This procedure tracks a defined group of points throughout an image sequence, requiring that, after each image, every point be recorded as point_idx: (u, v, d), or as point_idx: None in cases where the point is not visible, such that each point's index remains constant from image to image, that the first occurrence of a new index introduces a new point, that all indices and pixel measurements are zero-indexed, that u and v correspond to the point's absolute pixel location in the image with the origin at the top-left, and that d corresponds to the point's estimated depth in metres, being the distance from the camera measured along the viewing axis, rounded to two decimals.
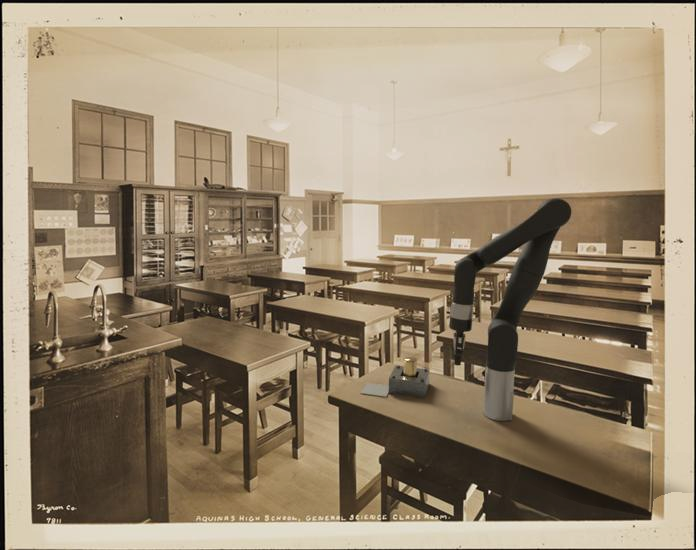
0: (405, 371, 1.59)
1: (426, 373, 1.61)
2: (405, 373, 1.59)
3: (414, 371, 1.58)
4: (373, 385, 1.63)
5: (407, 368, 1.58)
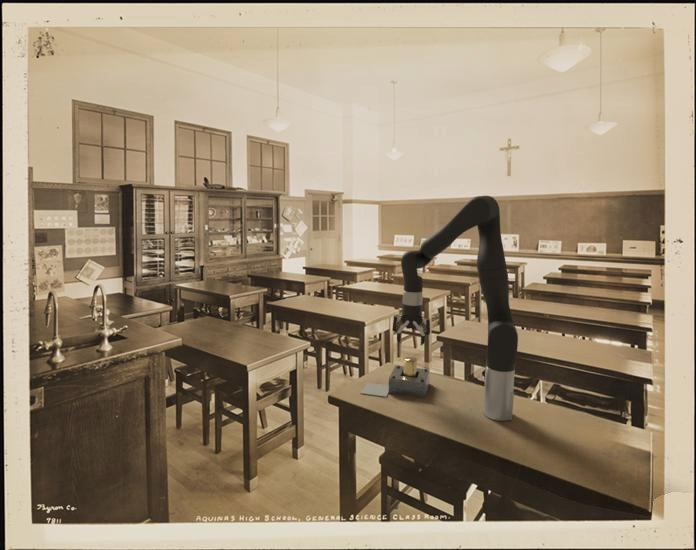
0: (405, 371, 1.59)
1: (426, 373, 1.61)
2: (405, 373, 1.59)
3: (414, 371, 1.58)
4: (373, 385, 1.63)
5: (407, 368, 1.58)
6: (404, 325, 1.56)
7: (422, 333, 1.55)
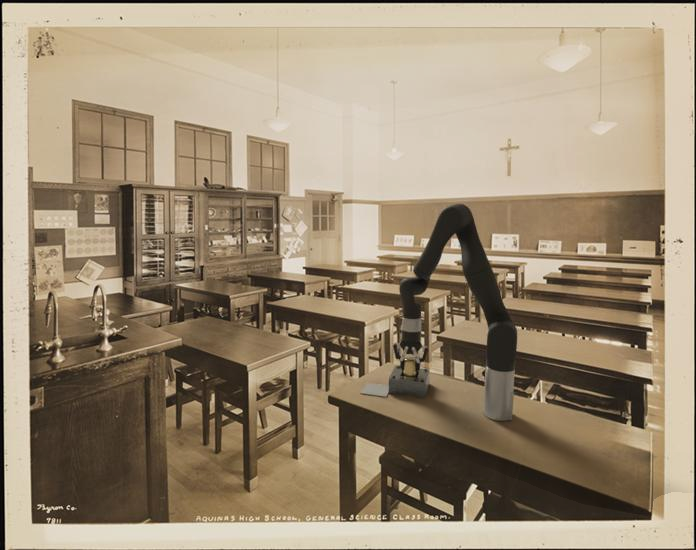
0: (405, 371, 1.59)
1: (426, 373, 1.61)
2: (405, 373, 1.59)
3: (414, 371, 1.58)
4: (373, 385, 1.63)
5: (407, 368, 1.58)
6: (404, 351, 1.58)
7: (417, 360, 1.57)
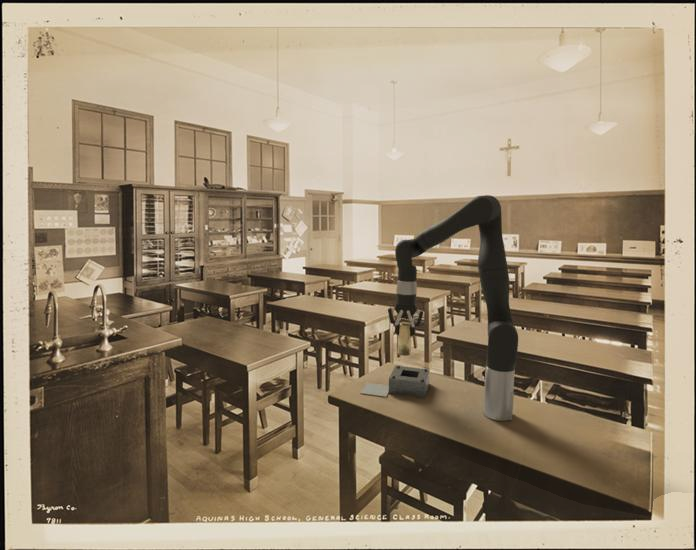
0: (400, 335, 1.56)
1: (426, 373, 1.61)
2: (400, 337, 1.57)
3: (409, 335, 1.56)
4: (373, 385, 1.63)
5: (402, 332, 1.56)
6: (399, 315, 1.56)
7: (412, 324, 1.55)
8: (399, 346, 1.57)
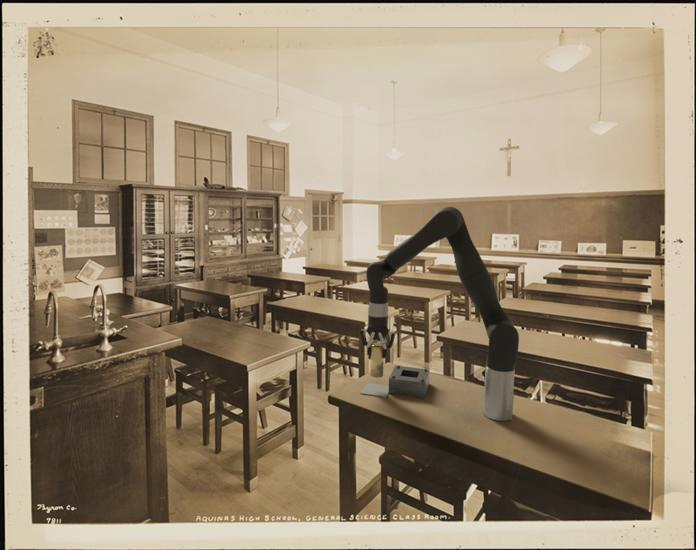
0: (372, 357, 1.55)
1: (426, 373, 1.61)
2: (372, 359, 1.55)
3: (381, 357, 1.55)
4: (373, 385, 1.63)
5: (374, 354, 1.55)
6: (371, 337, 1.55)
7: (384, 346, 1.54)
8: (371, 368, 1.56)
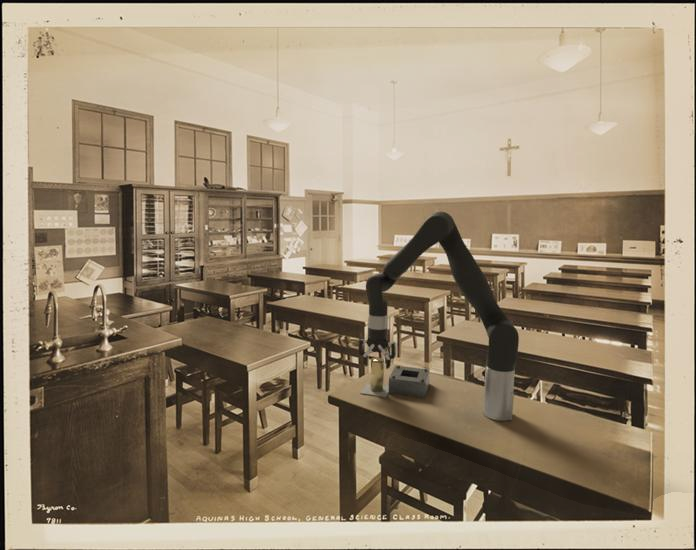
0: (372, 372, 1.56)
1: (426, 373, 1.61)
2: (372, 374, 1.56)
3: (381, 372, 1.56)
4: None
5: (374, 369, 1.55)
6: (370, 349, 1.56)
7: (387, 357, 1.54)
8: (371, 382, 1.57)
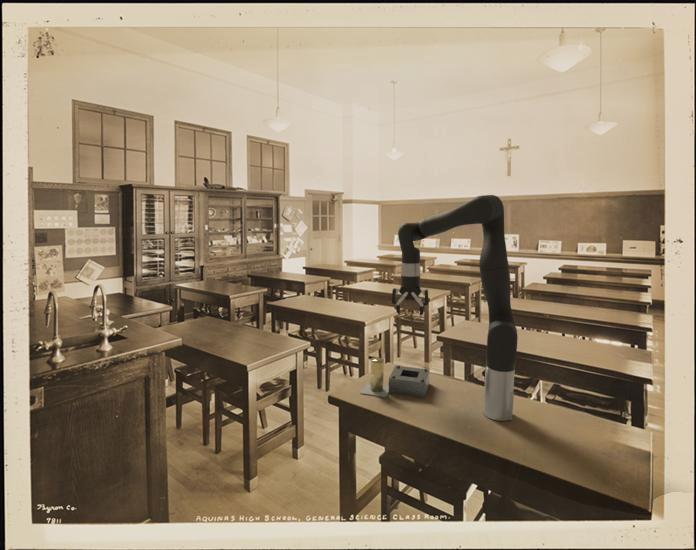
0: (372, 372, 1.56)
1: (426, 373, 1.61)
2: (372, 374, 1.56)
3: (381, 372, 1.56)
4: None
5: (374, 369, 1.55)
6: (403, 297, 1.60)
7: (421, 304, 1.59)
8: (371, 382, 1.57)
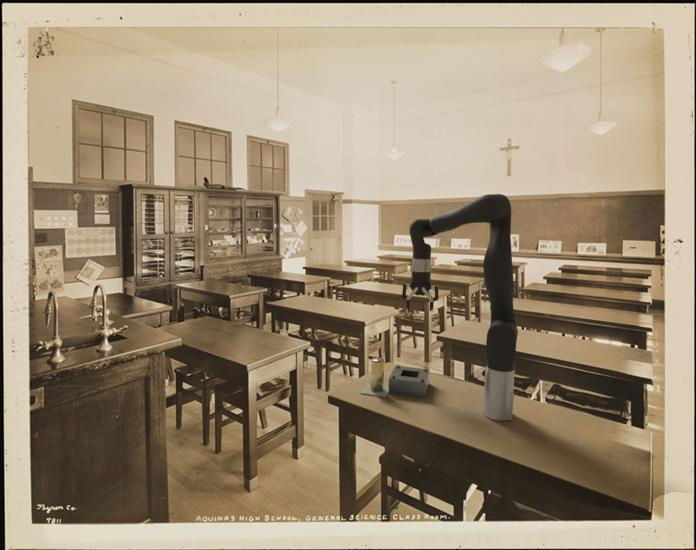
0: (372, 372, 1.56)
1: (426, 373, 1.61)
2: (372, 374, 1.56)
3: (381, 372, 1.56)
4: None
5: (374, 369, 1.55)
6: (413, 292, 1.62)
7: (431, 299, 1.61)
8: (371, 382, 1.57)
